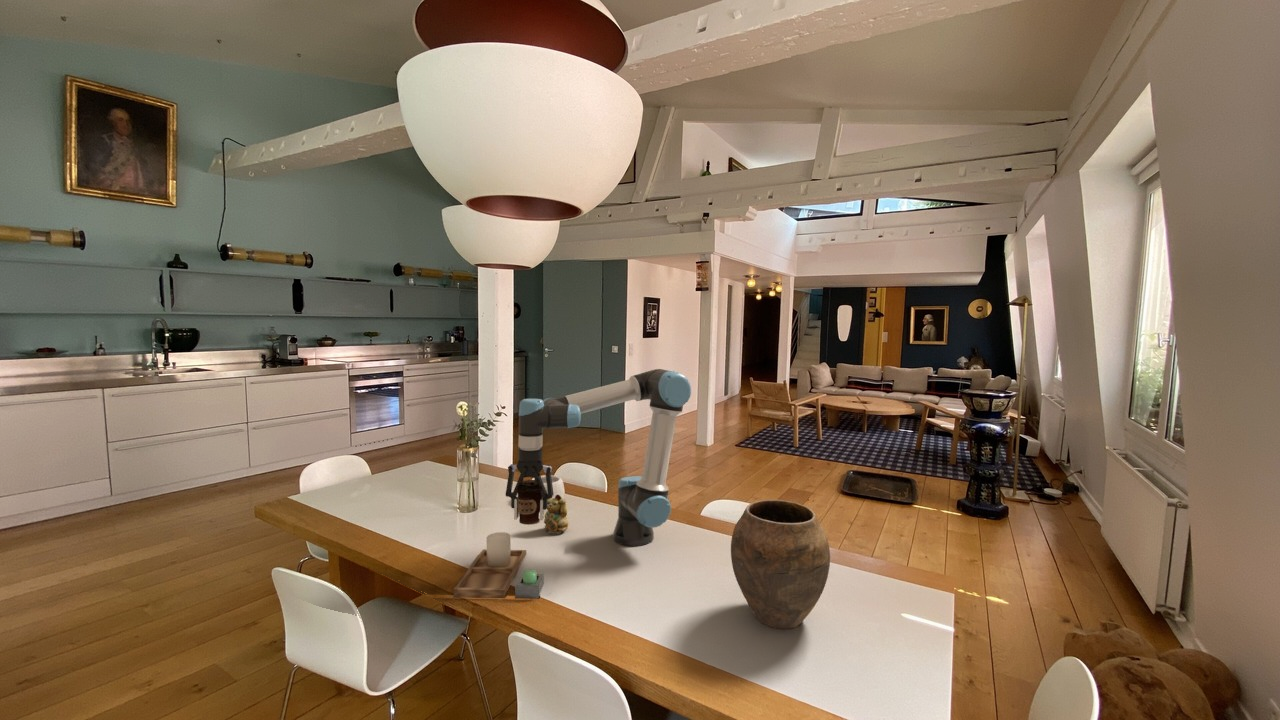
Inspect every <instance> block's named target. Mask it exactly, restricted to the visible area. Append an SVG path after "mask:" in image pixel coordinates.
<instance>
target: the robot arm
mask: <svg viewBox="0 0 1280 720" xmlns="http://www.w3.org/2000/svg"><path fill="white" fill-rule="evenodd" d="M691 395H692V386H691V383H690V380H689V379H688V377H686V376H685V375H684V374H682V373H679V372H678V371H675V370H673V371H672V370H669V369H668V370H666V369H662V368H661V369H660V368H656V369H651V370H648V371H644V372H641V373H638V374H635V375H631V376H630V377H629V378H628V379H625V380H622V381H618V382H615V383H610V384H606V385H602V386H599V387H595V388H591V389H586V390H584V391H580V392H576V393H571V394H567V395H565V396H559V397H557V398H554V397H547V398H545V399H541V398H523V399H522V400H520V401H519V408H518V442H517V443H518V444H517V445H518V446H517V447H518V451H517V454H518V456H517V459H518V460H517V463H516V464H513V463H512V464H510V465H509V466H508V467H507V470H508V475H507V476H508V477H507V478H508V479H507V482H506V488H505V489H506V490H505V497H506V498H510V499H511V500H510V501H511V503H510V507H511V509H514V513H513V515H514V516H513V517H514V518H513V519H514V520H515V521H516V520H518V518H520V517H519V511H518V492H517V487H518V486H519V485H520V484H519V483H522V481H525V480H524V479H525V478H532V479H533V478H534V479H535V481H536V482H537V484H539V486H540V487H541V488H542V489H541V492H540V493H541V495H542V499H541V500H540V512H539V519H540V521H541V522H543V521H544V519H545V510H547V503H548V498H552V496H553V494H554V493H553V486H552V478H551V475H552V469H553V466H552V465H545V464H544V463H543V462H544V461H543V448H542V447H543V444H544V443H543V442H544V440H543V438H544V435H543V434H544V429H545V430H547V429H570V428H577V427H579V426H580V424H581V418H582V414H584V413H589V412H592V411H596V410H600V409H603V408H607V407H610V406H615V405H618V404H622V403H626V402H630V401H635V402H640V401H644V400H646V401H647V400H650V401H649V408H650V410H651V411H652V415H651V419H650V427H649V432H648V433H649V434H648V438H647V444H646V445H647V446H646V451H645V454H644V455H645V457H644V461H643V467H642V473H641V475H634V476H625V477H621V478H620V479H619V481H618V487H617V490H618V493H617V495H618V496H617V498H618V503H617V505H618V506H617V507H618V508H617V510H618V513H617V514H618V517H617V519H616V520H617V521H616V523H615V526H614V529H613V540H614V541H615V542H616V543H618V544H620V545H622V546H631V547H637V546H638V547H640V546H644V545H647V544H650V543H652V542H653V541H654V540H655V539H654V536H655V535H654V529H653V528H658V527H661V526H662V525H664V524H665V523H666V522H667V520H668V519H669V517H670V515H671V513H672V507H671V506H672V505H671V503H670V501H669V499H668V496H669V490H670V488H669V486H668V485H667V483H666V482H667V475H668V470H669V466H670V465H669V463H670V458H671V452H672V447H673V440H674V435H675V429H676V428H675V427H676V423H677V418H678V416H679V415H680V414H681V413H683V408H684V405H685V404H686V403H688V402H689V400H690V398H691ZM517 470H518V471H519V473H520V475H519V477H518V478H517V479H518V480H517V482H516V484H515V486H514V489H513V483H514V478H515V472H516V471H517ZM542 470H543V472H544V473H545V475H546V482H547V490H548V494H547V492H546V489H545V487H544V484H543V481H542V479H541V476H542V475H541V471H542Z"/></svg>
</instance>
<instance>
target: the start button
mask: <svg viewBox="0 0 1280 720" xmlns="http://www.w3.org/2000/svg"><path fill="white" fill-rule="evenodd" d="M522 574H523V583H536V582H537V574H538V573H537V571H536V570H535V569H526V570H524V571H523V572H522Z"/></svg>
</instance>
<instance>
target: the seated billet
mask: <svg viewBox="0 0 1280 720" xmlns="http://www.w3.org/2000/svg"><path fill="white" fill-rule="evenodd" d="M486 550H487V566H488V567H503V568H504V567H506V566H508V565H509V564H510V563H511V550H512V549H511V534H510V533H509V532H505V531H504V532H503V531H498V532H493V533H490V534H488V535H487V536H486Z"/></svg>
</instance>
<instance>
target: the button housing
mask: <svg viewBox="0 0 1280 720" xmlns="http://www.w3.org/2000/svg"><path fill="white" fill-rule="evenodd" d="M544 584H545V574H544V573H537V582H536V583H523V573H521V574H520V575H519V576H518V578H517V580H516V583H515V585H514V589H515V590H514V594H515V595H514V598H515V599H521V600H522V599H525V600H528V599H529V600H534V599H535V600H540V598H541V595H540V594H541V592H542V589H543V587H544Z"/></svg>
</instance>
